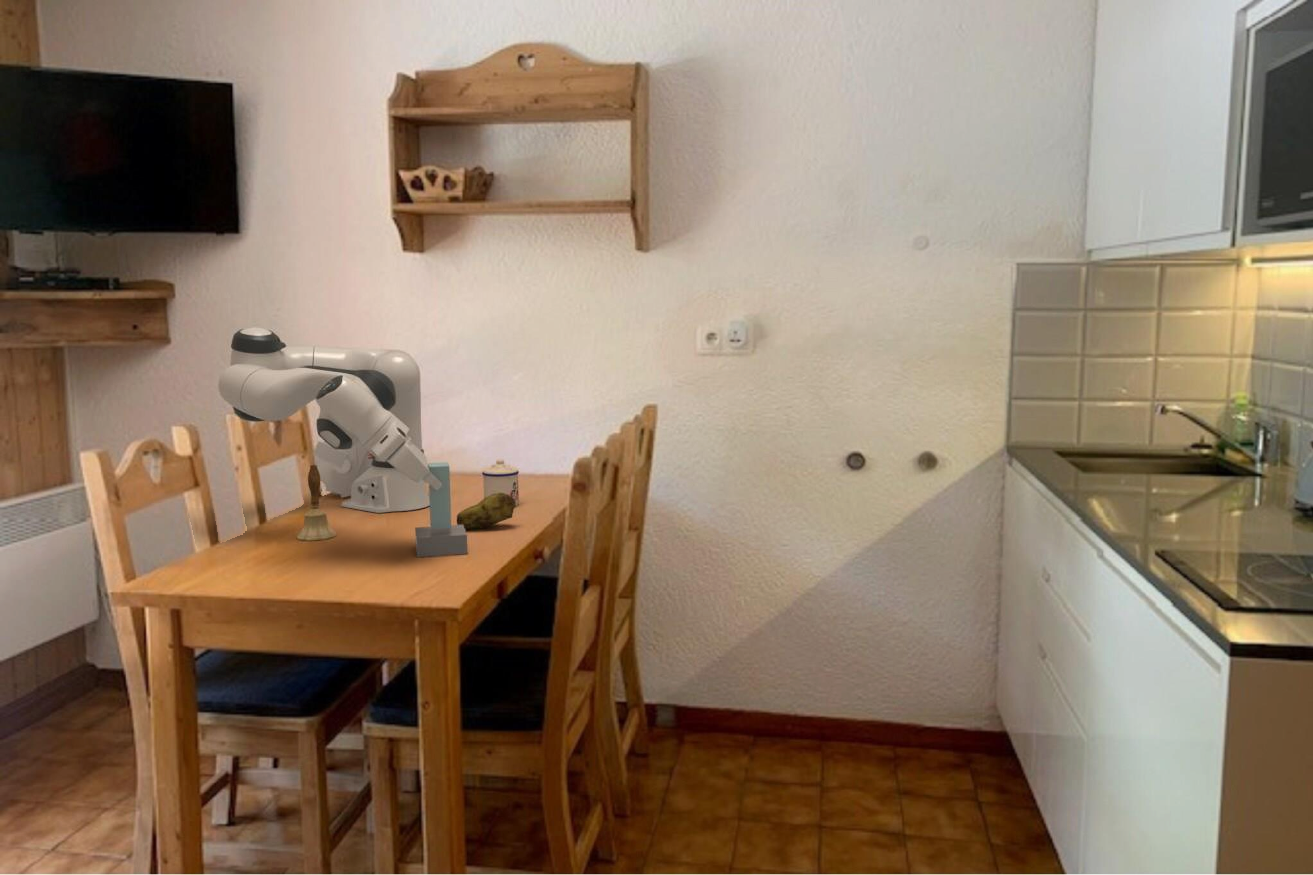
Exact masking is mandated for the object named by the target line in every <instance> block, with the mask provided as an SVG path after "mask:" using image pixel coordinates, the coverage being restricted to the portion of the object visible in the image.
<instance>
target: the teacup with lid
mask: <svg viewBox="0 0 1313 875" xmlns="http://www.w3.org/2000/svg"><path fill="white" fill-rule="evenodd" d="M481 473H482V477H483V480H482V481H483V482H482V483H483V499H484V498H486V497H488V496H490V495H492V494H497V493H505V494H507V495H510V496H511V497H513V498H514V500H515V503H516V504H515V506H516V507H518V506H519V503H520V501H519V500H520V499H519V497H520V496H519V474H520V473H519V469H518V468H517V467H514V466H511V465H510V464H508V463H506V462H505V460H504V459H496V461H495V463H494V464H492V465H491V466H488V467H485V468H484V469H483V470H482V472H481Z"/></svg>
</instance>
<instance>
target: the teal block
mask: <svg viewBox="0 0 1313 875" xmlns="http://www.w3.org/2000/svg"><path fill="white" fill-rule="evenodd" d="M427 464H428V467H429V471H430V472H431V473H432V474H433V475H434V476H435V477H436V478H437V479H438V480H440V481H441V482H442V486H441V487H440V488H439V489H438V490H435V489H434V488H433V487H432V486H431V485H429V484H428V489H429V490H428V491H429V494H428V496H429V499H430V505H429V518H430V519H429V521H430V524H429V525H430V527H431V530H432V529H449V528H451V525H452V509H451V508H452V507H451V502H452V501H451V476H450V464H449V462H448V461H447V462H446V461H445V462H427Z"/></svg>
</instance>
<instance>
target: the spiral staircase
mask: <svg viewBox="0 0 1313 875" xmlns="http://www.w3.org/2000/svg"><path fill="white" fill-rule="evenodd" d="M369 454H371V453H370V452H369V451H368V450H366V449H365V448H364V447H363V446H362V445H361V444H360V442H358V443H357V444H356V445H355V446H353V447H351V448H350V449H334V448H333V447H331V446H330V445H329V444H328V443H327V442H325V441H324V440H323V441H321V440H318V442H317V444H316V446H315V448H314V450H313V453H312V456H314V457H315V458H313V459H314V463H315V465H317V469H318V471H319V474H320V483H321V484H323V485H325V486H326V487H325V491H326V492H330V493H334V494H337V495H340V497H341V499H344V498H346V497H351V489H352V484H353V482H354V481H355V480H356V479H357V478H358V477H359V476H360V475H362V474H363V473H364V472H365V471H366V470H367V469H368V468H370V467H371V466H372V465H371V464H372V460H373V458H372V459H368V458H369V457H371V455H369ZM368 455H369V456H368Z"/></svg>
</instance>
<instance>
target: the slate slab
mask: <svg viewBox="0 0 1313 875" xmlns="http://www.w3.org/2000/svg"><path fill="white" fill-rule="evenodd" d="M414 530H415V531H414V532H415V549H416V556H417V558H425V557H426V558H428V557H427V556H431V557H442V556H441V555H446V556H451V555H450V554H460V555H468V534H467V531H466V529H465V528H464V525H458V524H451V528H449V529H432V530H431V526H422V527H421V526H418V527H416V526H415V527H414Z"/></svg>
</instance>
